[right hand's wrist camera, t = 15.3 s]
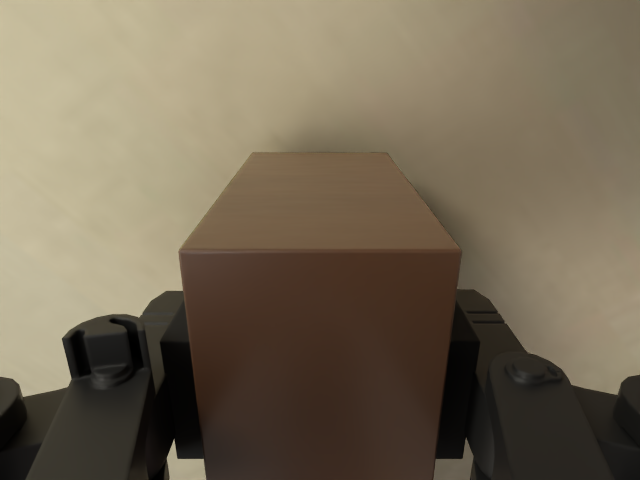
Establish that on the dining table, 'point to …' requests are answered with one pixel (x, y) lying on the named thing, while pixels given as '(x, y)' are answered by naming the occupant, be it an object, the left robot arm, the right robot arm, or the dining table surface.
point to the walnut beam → (319, 321)
